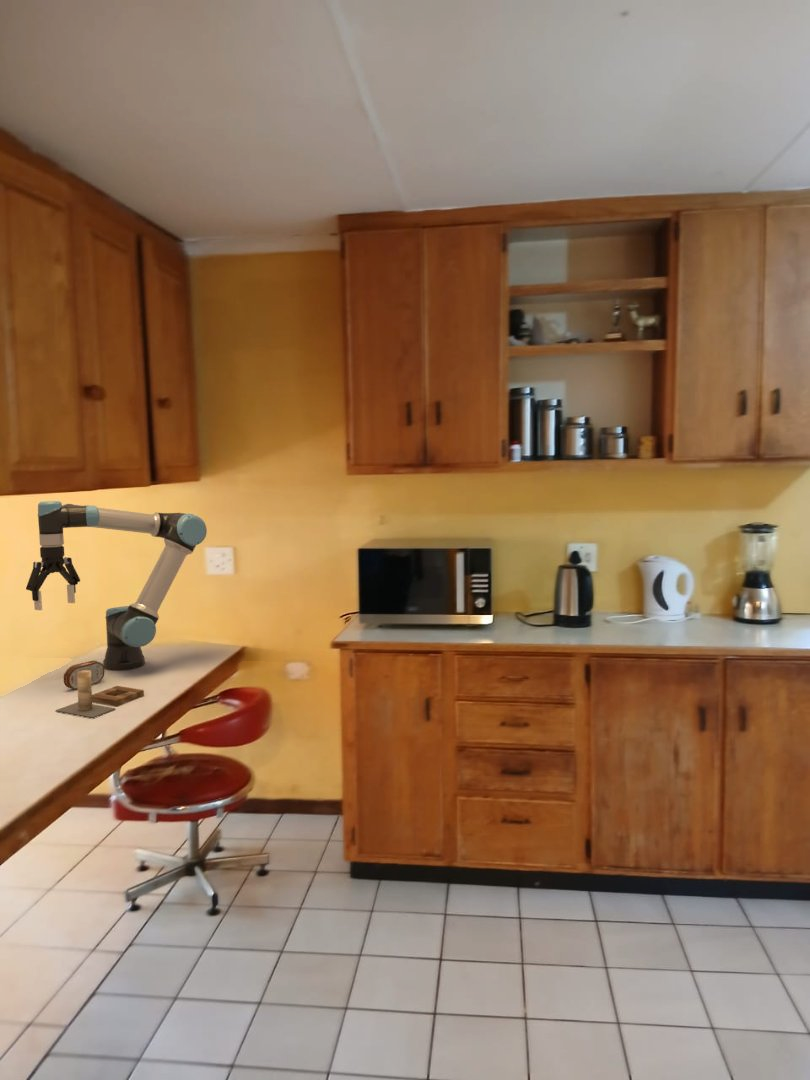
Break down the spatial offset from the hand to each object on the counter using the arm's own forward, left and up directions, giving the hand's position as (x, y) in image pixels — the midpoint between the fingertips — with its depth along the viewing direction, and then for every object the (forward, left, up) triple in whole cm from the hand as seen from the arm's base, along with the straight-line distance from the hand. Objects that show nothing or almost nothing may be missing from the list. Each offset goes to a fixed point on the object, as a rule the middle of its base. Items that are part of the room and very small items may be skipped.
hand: (55, 606), depth 255 cm
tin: (-4, +8, -29) cm, 30 cm away
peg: (+15, +29, -28) cm, 43 cm away
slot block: (+2, +29, -29) cm, 41 cm away
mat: (+15, +29, -29) cm, 43 cm away
